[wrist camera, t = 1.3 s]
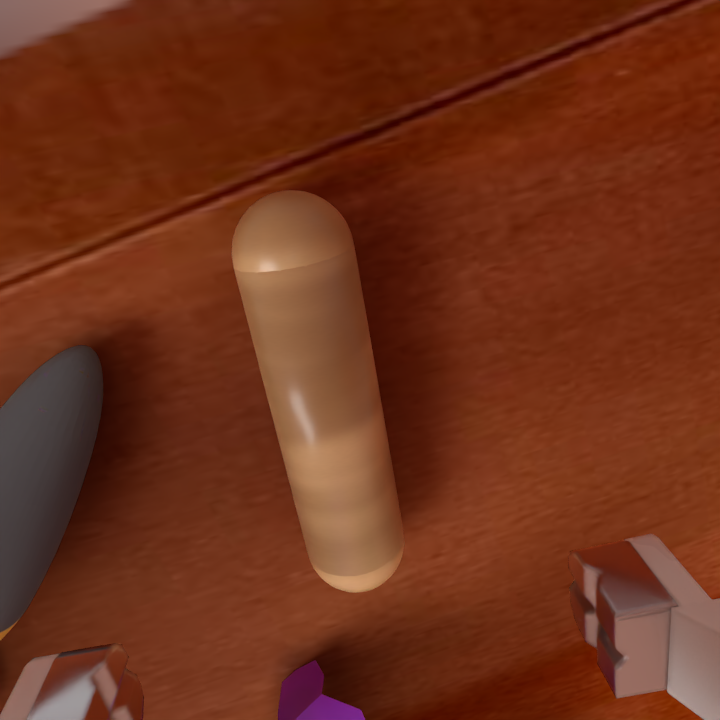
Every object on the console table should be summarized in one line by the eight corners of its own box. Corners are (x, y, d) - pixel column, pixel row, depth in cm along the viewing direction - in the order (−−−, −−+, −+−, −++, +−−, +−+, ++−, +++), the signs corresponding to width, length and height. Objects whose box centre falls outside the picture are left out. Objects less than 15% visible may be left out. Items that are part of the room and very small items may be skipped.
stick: (225, 194, 16) (208, 212, 13) (339, 173, 16) (347, 187, 13) (315, 553, 21) (317, 624, 18) (402, 536, 21) (418, 604, 18)
